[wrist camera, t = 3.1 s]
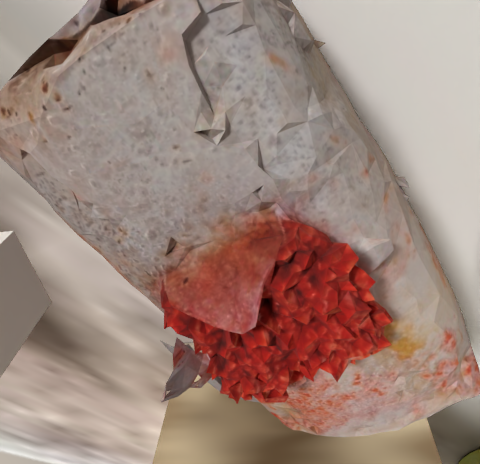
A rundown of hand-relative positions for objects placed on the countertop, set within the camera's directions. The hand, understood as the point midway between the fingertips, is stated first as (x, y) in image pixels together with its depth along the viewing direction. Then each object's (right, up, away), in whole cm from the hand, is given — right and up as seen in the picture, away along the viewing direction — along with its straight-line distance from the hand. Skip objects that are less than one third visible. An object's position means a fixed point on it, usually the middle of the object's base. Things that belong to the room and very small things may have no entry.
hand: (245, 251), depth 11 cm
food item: (+1, +3, +5) cm, 6 cm away
